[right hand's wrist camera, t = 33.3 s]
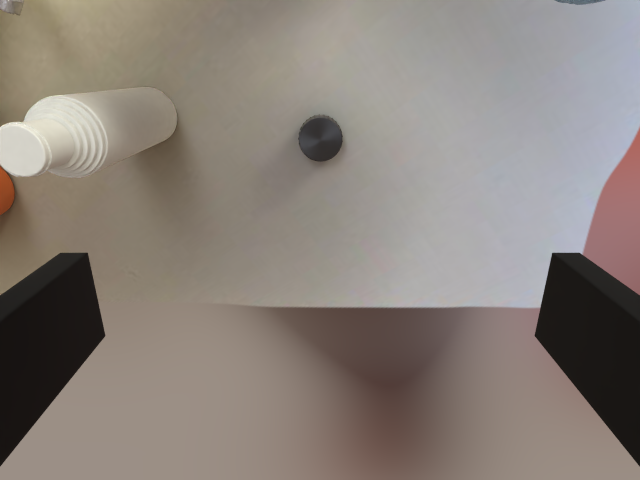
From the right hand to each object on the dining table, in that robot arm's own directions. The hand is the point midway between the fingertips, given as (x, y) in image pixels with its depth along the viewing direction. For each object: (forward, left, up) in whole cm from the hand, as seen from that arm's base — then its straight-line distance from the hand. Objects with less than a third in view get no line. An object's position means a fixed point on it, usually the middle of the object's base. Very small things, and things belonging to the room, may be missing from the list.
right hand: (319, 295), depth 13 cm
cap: (0, 0, -30) cm, 30 cm away
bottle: (-3, -16, -32) cm, 36 cm away
